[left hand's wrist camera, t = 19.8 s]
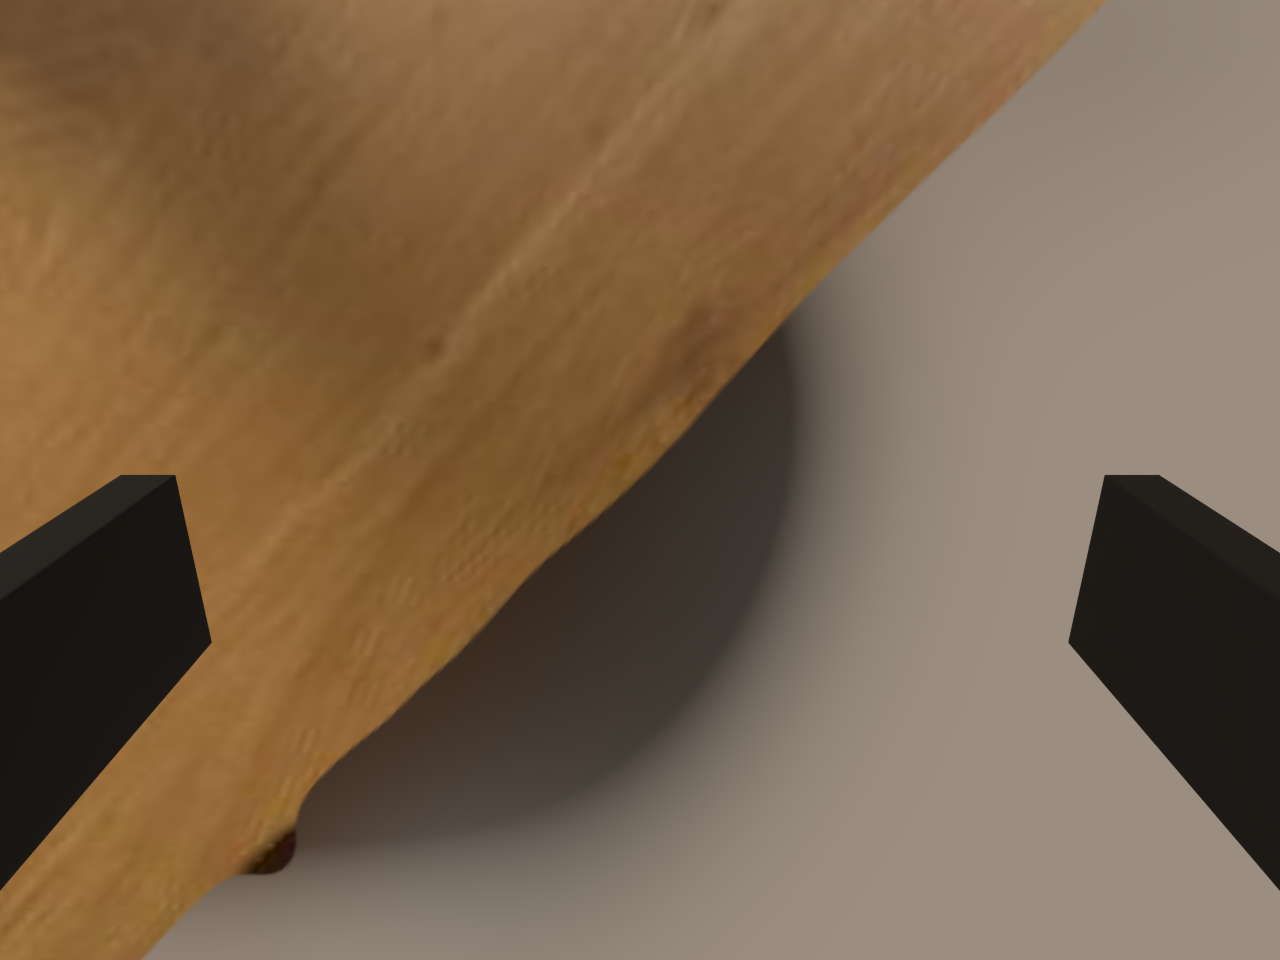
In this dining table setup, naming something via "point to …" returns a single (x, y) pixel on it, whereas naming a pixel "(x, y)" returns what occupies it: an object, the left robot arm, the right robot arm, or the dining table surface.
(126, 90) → the dining table surface
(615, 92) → the dining table surface
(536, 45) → the dining table surface
